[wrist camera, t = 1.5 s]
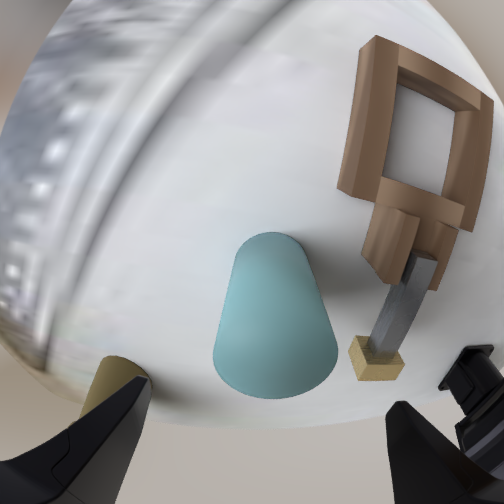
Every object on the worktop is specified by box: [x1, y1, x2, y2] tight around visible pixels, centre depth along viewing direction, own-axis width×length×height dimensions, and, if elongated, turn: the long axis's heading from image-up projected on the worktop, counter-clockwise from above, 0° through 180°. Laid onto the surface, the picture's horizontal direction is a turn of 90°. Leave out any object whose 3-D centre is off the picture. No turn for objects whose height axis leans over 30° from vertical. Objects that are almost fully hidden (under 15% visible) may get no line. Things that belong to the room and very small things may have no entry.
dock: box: [337, 35, 494, 291], centre depth 13 cm, size 10×14×4 cm
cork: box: [67, 356, 152, 429], centre depth 19 cm, size 6×6×11 cm
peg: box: [213, 232, 338, 399], centre depth 14 cm, size 5×5×9 cm
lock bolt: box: [348, 248, 438, 381], centre depth 15 cm, size 3×8×3 cm, turn 171°
